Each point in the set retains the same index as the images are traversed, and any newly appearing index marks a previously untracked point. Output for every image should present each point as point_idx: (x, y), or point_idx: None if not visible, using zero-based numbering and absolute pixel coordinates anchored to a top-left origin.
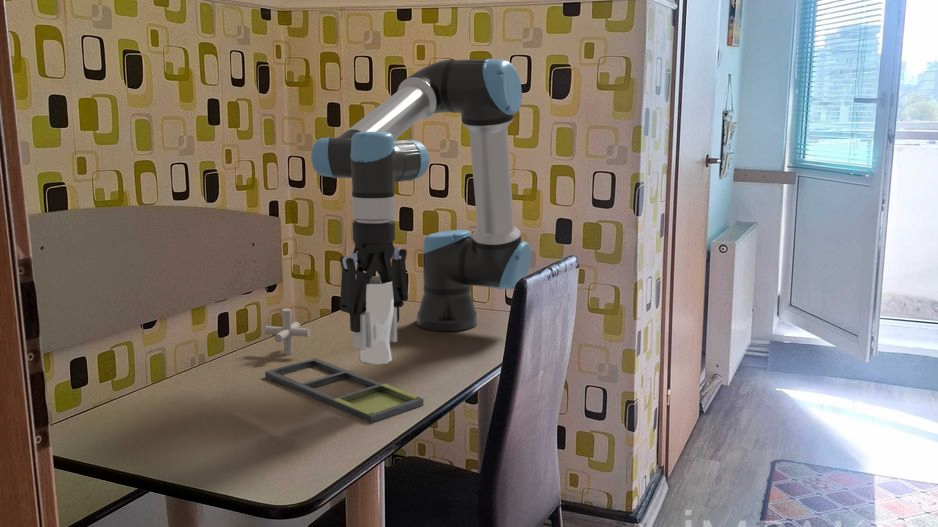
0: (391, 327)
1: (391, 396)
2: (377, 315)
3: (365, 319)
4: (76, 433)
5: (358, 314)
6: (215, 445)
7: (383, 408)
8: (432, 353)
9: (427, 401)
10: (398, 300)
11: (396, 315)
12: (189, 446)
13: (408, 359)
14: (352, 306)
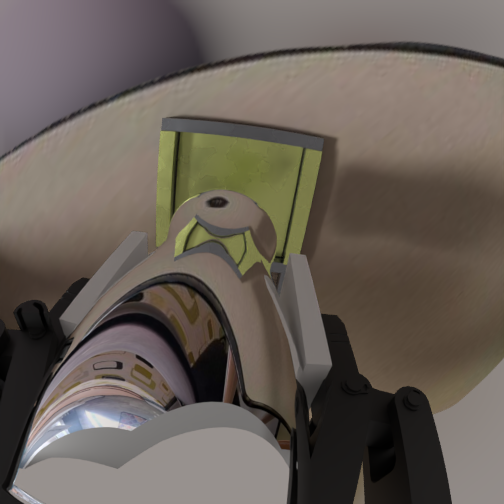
0: (150, 253)
1: (178, 203)
2: (261, 311)
3: (305, 340)
4: (468, 386)
5: (355, 375)
6: (481, 282)
7: (243, 167)
8: (16, 289)
9: (145, 127)
10: (28, 342)
11: (83, 291)
12: (486, 301)
13: (50, 303)
14: (410, 419)
